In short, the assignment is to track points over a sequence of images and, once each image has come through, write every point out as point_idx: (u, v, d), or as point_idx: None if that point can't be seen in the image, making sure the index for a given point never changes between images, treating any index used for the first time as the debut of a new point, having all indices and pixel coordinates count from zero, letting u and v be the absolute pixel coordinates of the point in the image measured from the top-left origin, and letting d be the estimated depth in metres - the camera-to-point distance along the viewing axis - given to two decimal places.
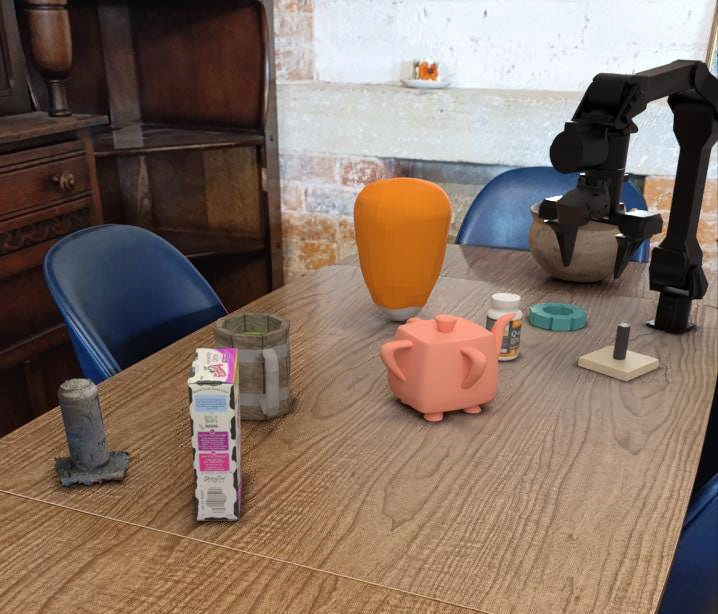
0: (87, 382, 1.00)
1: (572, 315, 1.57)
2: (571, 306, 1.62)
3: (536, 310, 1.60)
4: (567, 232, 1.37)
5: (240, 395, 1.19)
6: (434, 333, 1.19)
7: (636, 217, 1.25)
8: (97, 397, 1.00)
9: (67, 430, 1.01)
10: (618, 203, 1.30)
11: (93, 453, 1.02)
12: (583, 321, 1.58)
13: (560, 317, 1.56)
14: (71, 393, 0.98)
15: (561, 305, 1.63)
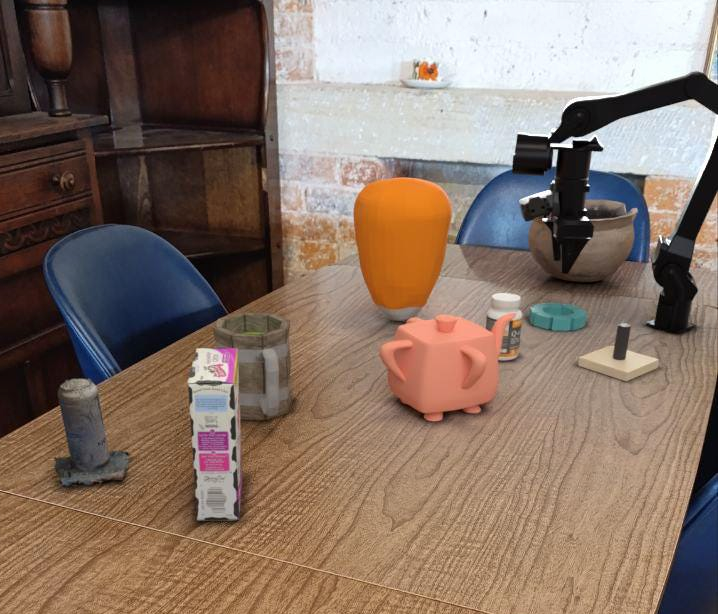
0: (87, 382, 1.00)
1: (572, 315, 1.57)
2: (571, 306, 1.62)
3: (536, 310, 1.60)
4: None
5: (240, 395, 1.19)
6: (434, 333, 1.19)
7: (561, 219, 1.48)
8: (97, 397, 1.00)
9: (67, 430, 1.01)
10: (573, 209, 1.52)
11: (93, 453, 1.02)
12: (583, 321, 1.58)
13: (560, 317, 1.56)
14: (71, 393, 0.98)
15: (561, 305, 1.63)
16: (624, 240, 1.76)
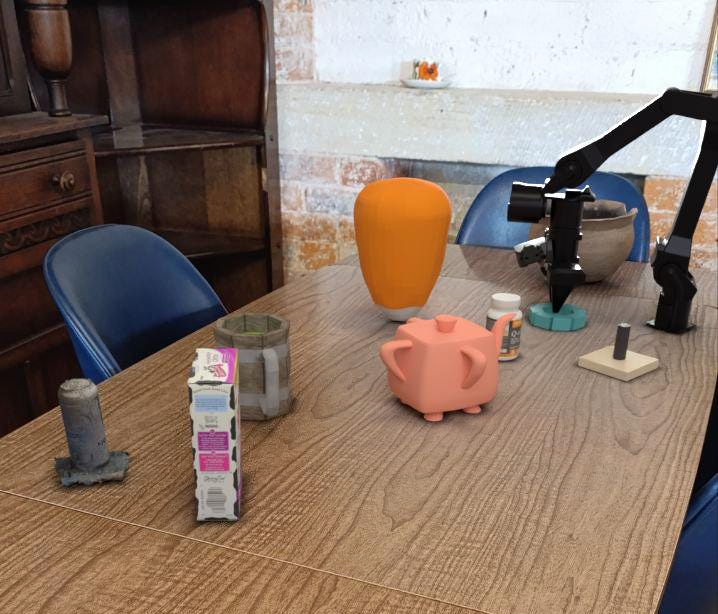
0: (87, 382, 1.00)
1: (572, 315, 1.57)
2: (571, 306, 1.62)
3: (536, 310, 1.60)
4: None
5: (240, 395, 1.19)
6: (434, 333, 1.19)
7: (554, 268, 1.52)
8: (97, 397, 1.00)
9: (67, 430, 1.01)
10: (566, 256, 1.56)
11: (93, 453, 1.02)
12: (583, 321, 1.58)
13: (560, 317, 1.56)
14: (71, 393, 0.98)
15: None
16: (624, 240, 1.76)
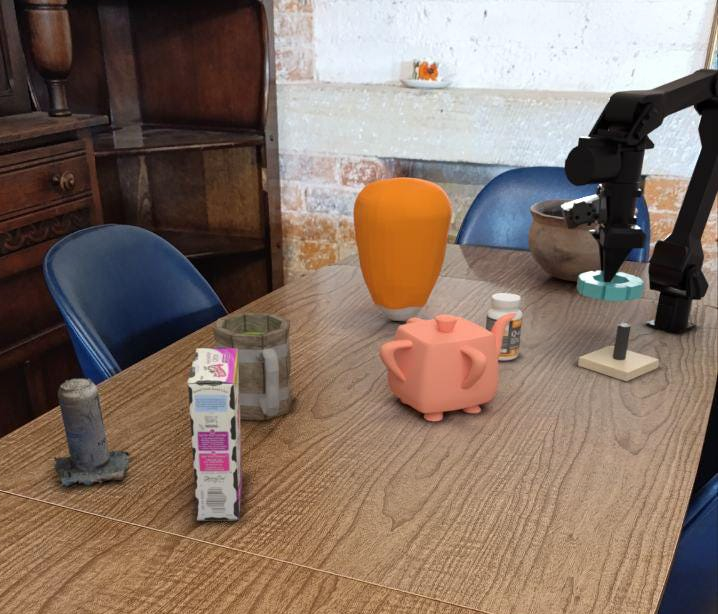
0: (87, 382, 1.00)
1: (627, 284, 1.37)
2: (625, 274, 1.42)
3: (585, 278, 1.40)
4: None
5: (240, 395, 1.19)
6: (434, 333, 1.19)
7: (609, 227, 1.32)
8: (97, 397, 1.00)
9: (67, 430, 1.01)
10: (622, 215, 1.36)
11: (93, 453, 1.02)
12: (640, 291, 1.38)
13: (613, 285, 1.36)
14: (71, 393, 0.98)
15: None
16: None
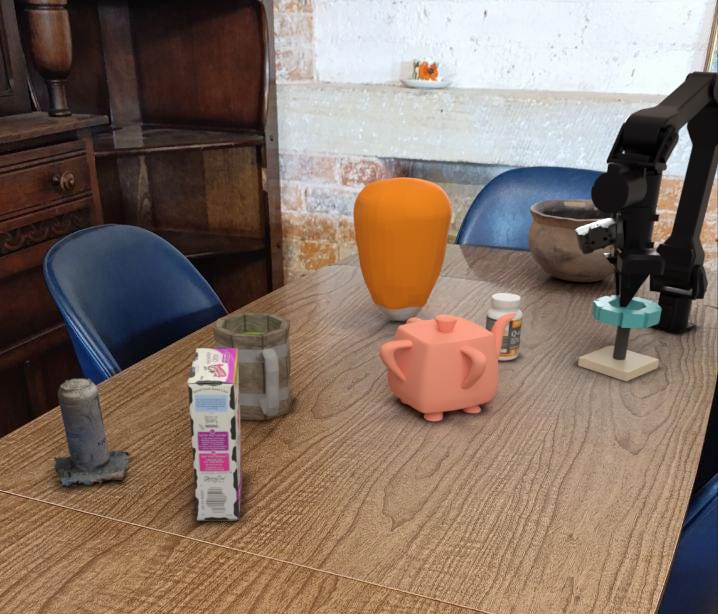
0: (87, 382, 1.00)
1: (645, 310, 1.33)
2: (641, 299, 1.38)
3: (601, 304, 1.36)
4: None
5: (240, 395, 1.19)
6: (434, 333, 1.19)
7: (627, 253, 1.29)
8: (97, 397, 1.00)
9: (67, 430, 1.01)
10: (639, 240, 1.32)
11: (93, 453, 1.02)
12: (658, 317, 1.34)
13: (631, 312, 1.32)
14: (71, 393, 0.98)
15: None
16: None
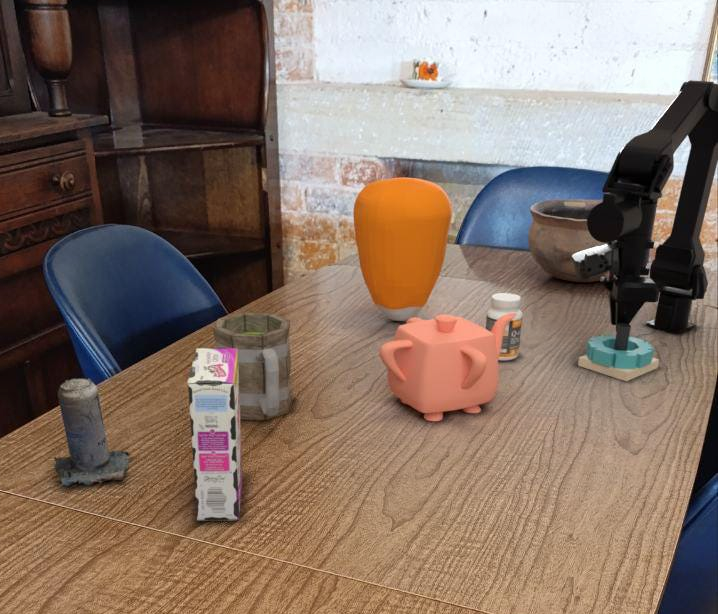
0: (87, 382, 1.00)
1: (638, 351, 1.37)
2: (634, 339, 1.42)
3: (595, 344, 1.39)
4: None
5: (240, 395, 1.19)
6: (434, 333, 1.19)
7: (622, 281, 1.31)
8: (97, 397, 1.00)
9: (67, 430, 1.01)
10: (634, 267, 1.34)
11: (93, 453, 1.02)
12: (650, 357, 1.37)
13: (624, 353, 1.36)
14: (71, 393, 0.98)
15: None
16: None
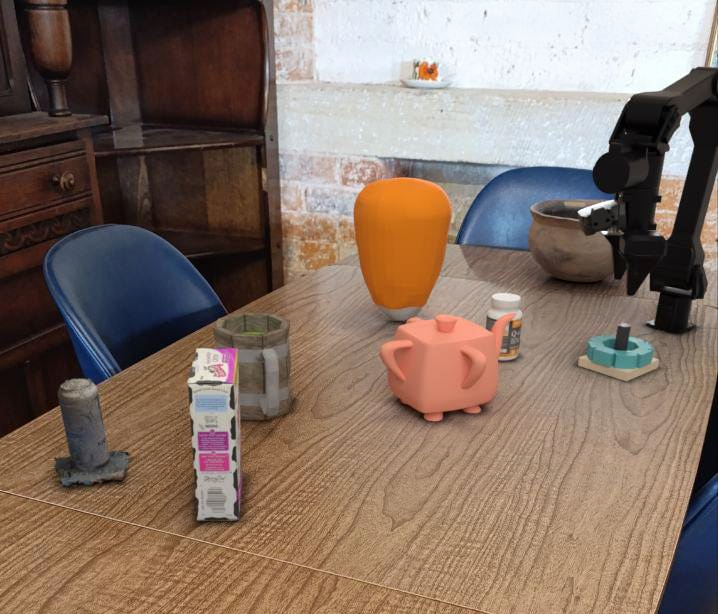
0: (87, 382, 1.00)
1: (638, 351, 1.37)
2: (634, 339, 1.42)
3: (595, 344, 1.39)
4: (619, 246, 1.41)
5: (240, 395, 1.19)
6: (434, 333, 1.19)
7: (629, 234, 1.28)
8: (97, 397, 1.00)
9: (67, 430, 1.01)
10: (641, 221, 1.32)
11: (93, 453, 1.02)
12: (650, 357, 1.37)
13: (624, 353, 1.36)
14: (71, 393, 0.98)
15: None
16: None
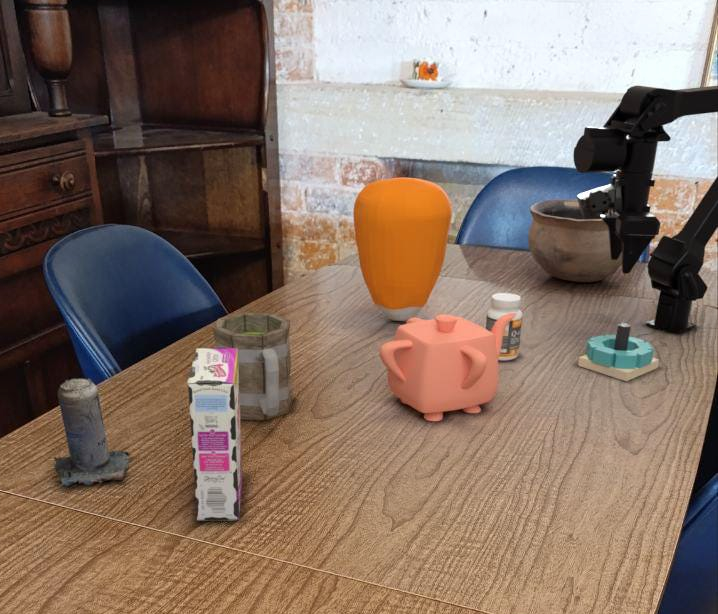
0: (87, 382, 1.00)
1: (638, 351, 1.37)
2: (634, 339, 1.42)
3: (595, 344, 1.39)
4: (616, 228, 1.52)
5: (240, 395, 1.19)
6: (434, 333, 1.19)
7: (625, 215, 1.39)
8: (97, 397, 1.00)
9: (67, 430, 1.01)
10: (636, 204, 1.42)
11: (93, 453, 1.02)
12: (650, 357, 1.37)
13: (624, 353, 1.36)
14: (71, 393, 0.98)
15: None
16: None
